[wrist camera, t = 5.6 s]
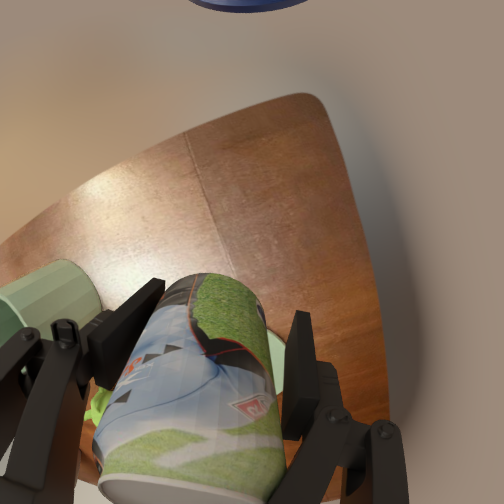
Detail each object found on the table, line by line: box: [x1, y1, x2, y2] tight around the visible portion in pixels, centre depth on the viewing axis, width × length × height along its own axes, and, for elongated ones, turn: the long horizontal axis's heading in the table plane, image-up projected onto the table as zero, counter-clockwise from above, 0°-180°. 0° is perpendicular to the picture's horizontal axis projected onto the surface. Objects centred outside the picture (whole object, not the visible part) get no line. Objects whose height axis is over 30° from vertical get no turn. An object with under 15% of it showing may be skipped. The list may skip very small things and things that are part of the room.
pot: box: [0, 259, 102, 373], centre depth 31 cm, size 14×19×14 cm
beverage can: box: [92, 273, 287, 504], centre depth 10 cm, size 6×7×12 cm
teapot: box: [84, 387, 113, 427], centre depth 39 cm, size 11×12×8 cm
